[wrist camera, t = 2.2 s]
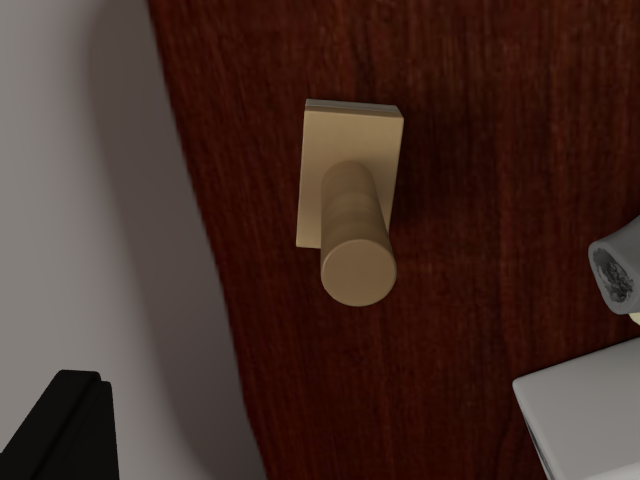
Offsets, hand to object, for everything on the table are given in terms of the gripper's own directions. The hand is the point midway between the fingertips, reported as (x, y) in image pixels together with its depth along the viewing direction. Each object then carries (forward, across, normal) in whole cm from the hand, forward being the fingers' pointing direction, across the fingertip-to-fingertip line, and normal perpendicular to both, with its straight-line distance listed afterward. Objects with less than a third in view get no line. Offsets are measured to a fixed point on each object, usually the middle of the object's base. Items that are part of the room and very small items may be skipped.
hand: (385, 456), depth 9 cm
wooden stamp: (+18, 0, 0) cm, 18 cm away
